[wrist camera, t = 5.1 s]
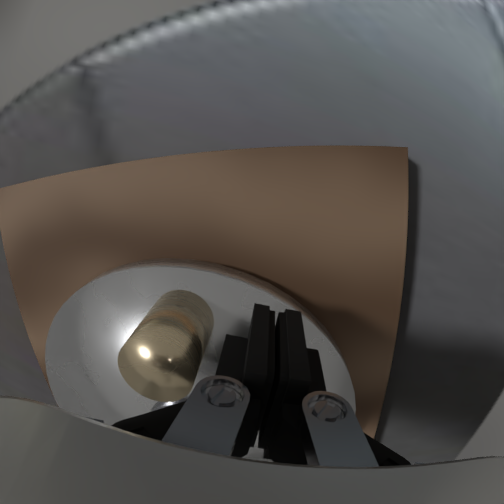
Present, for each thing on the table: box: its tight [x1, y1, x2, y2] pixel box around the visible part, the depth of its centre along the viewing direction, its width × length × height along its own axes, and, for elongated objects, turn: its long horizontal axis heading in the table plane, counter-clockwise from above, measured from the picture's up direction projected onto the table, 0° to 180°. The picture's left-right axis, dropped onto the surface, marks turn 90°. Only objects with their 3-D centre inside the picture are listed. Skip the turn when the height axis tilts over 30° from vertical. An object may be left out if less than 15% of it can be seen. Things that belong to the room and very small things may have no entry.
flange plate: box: [45, 258, 356, 462], centre depth 13 cm, size 16×17×5 cm
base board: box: [0, 146, 408, 439], centre depth 14 cm, size 24×20×5 cm
